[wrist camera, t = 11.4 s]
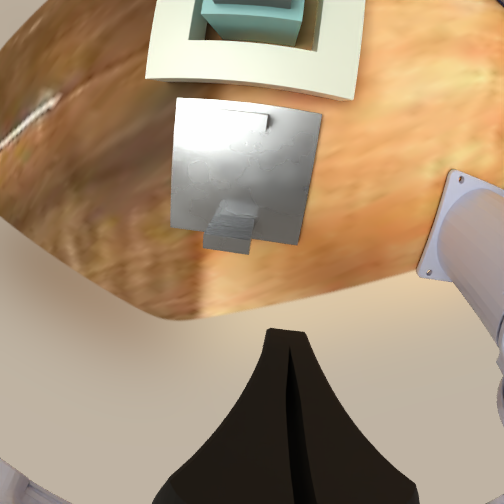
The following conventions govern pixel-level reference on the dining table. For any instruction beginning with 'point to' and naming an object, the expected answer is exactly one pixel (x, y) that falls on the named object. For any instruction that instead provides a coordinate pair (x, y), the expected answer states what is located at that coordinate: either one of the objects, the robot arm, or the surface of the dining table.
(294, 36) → the plug
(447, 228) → the robot arm
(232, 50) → the port
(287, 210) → the grey socket plate
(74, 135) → the dining table surface
